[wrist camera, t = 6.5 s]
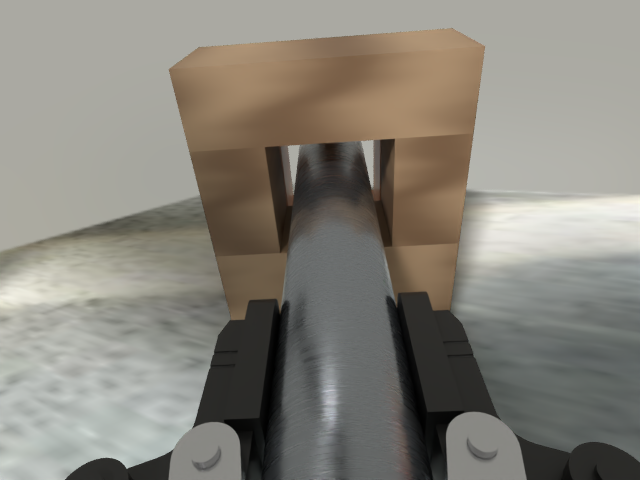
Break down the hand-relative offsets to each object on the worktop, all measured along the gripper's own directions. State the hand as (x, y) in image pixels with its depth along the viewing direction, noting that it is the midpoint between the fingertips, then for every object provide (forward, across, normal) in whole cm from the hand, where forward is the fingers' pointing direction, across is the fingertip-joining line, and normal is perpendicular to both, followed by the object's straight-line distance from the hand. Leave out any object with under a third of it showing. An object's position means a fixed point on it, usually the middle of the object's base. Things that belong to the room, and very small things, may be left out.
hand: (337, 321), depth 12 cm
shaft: (+4, 0, +2) cm, 5 cm away
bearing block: (+8, 0, +8) cm, 11 cm away
